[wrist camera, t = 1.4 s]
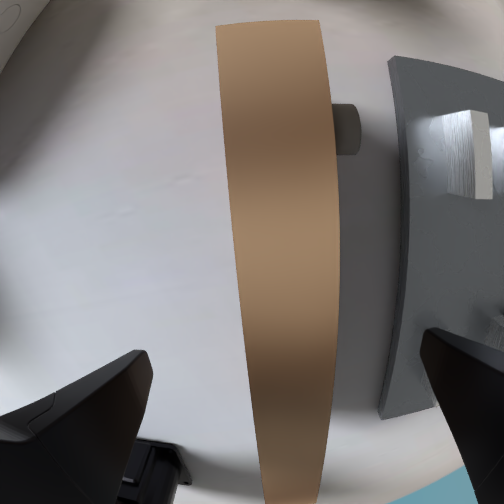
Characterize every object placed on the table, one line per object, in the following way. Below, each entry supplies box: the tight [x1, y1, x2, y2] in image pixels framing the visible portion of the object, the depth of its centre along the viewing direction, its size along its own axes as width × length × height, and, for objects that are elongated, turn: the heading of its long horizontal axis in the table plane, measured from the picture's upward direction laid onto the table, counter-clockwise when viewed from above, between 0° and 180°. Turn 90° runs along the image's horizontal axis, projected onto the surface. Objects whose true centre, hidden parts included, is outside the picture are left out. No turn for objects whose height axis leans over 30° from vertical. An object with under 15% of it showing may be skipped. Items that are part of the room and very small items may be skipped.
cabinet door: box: [216, 20, 361, 504], centre depth 11 cm, size 18×4×8 cm, turn 5°
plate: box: [378, 56, 504, 420], centre depth 13 cm, size 22×11×4 cm, turn 5°
